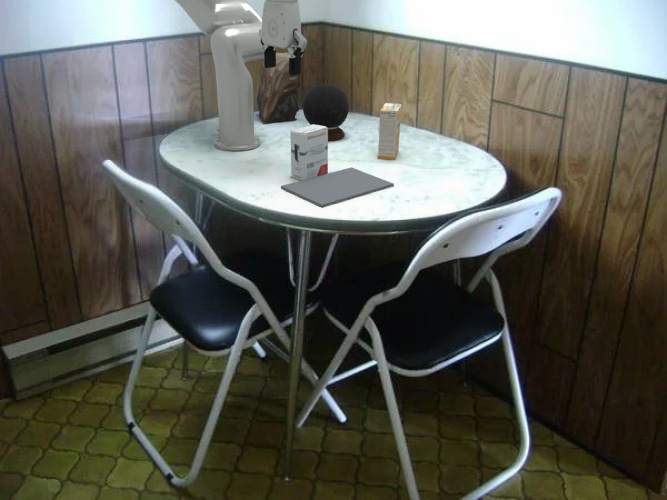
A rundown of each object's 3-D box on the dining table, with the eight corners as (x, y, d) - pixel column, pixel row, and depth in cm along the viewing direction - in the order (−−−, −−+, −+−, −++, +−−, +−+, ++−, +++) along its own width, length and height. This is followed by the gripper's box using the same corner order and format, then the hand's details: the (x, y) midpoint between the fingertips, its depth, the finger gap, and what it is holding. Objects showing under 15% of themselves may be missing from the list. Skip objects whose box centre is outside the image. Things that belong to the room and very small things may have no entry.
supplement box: (395, 160, 182) (398, 110, 176) (377, 158, 183) (379, 109, 177) (399, 151, 189) (402, 103, 184) (381, 149, 190) (384, 102, 184)
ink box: (313, 169, 174) (314, 122, 169) (328, 173, 172) (329, 126, 166) (290, 177, 169) (289, 129, 164) (305, 182, 166) (305, 133, 161)
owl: (256, 114, 222) (254, 49, 214) (295, 112, 225) (294, 49, 216) (262, 124, 211) (260, 57, 202) (303, 122, 214) (302, 56, 205)
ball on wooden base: (357, 138, 200) (358, 85, 193) (318, 145, 193) (319, 91, 186) (331, 127, 209) (332, 77, 203) (294, 133, 203) (293, 82, 196)
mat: (280, 188, 161) (280, 185, 161) (351, 169, 174) (351, 167, 174) (321, 207, 151) (321, 204, 151) (393, 186, 164) (393, 183, 164)
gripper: (247, -7, 164) (248, 66, 172) (292, 1, 153) (292, 79, 160) (272, -9, 169) (273, 63, 177) (318, -1, 158) (317, 75, 165)
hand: (282, 70), depth 169 cm, fingers open, 9 cm apart
